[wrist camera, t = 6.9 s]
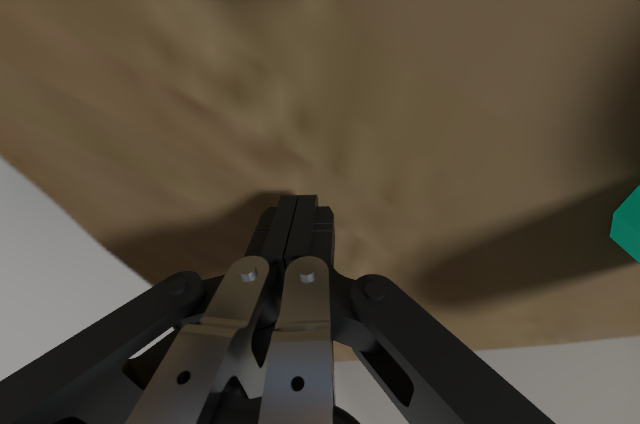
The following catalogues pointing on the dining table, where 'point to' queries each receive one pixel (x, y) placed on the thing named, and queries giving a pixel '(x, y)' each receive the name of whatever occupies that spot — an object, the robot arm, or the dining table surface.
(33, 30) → the dining table surface
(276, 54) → the dining table surface
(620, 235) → the candle
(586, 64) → the dining table surface
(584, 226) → the dining table surface
